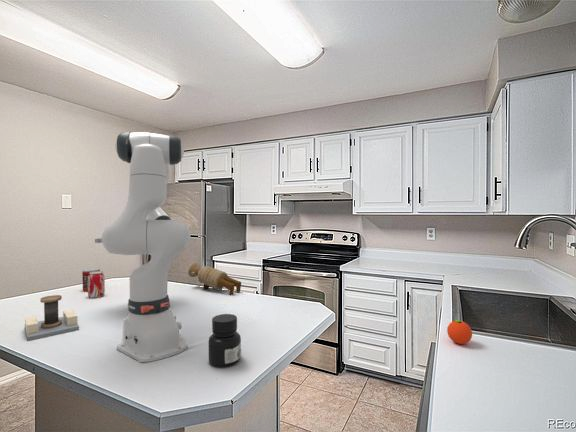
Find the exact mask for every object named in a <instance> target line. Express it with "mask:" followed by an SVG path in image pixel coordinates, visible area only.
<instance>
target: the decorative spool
mask: <svg viewBox="0 0 576 432" xmlns="http://www.w3.org/2000/svg"><path fill="white" fill-rule="evenodd" d="M187 274H188V276H189V277H190V278H195V277H197V279H198V282H199V283H200V284H203V290H209V289H210V288H213V289H212V290H218V289H219V290H222V289H224V288H225V289H226V290H228V295H229V296H233V295H234V294H235V293H234V291H235V292H236V293H237V294H238V293H240V292H241V289H242V281H239V280H237V279H234V278H232V277H231V276H229V275H228V274H227V272H225V271H222V270H219V269H217V268H215V267H212V266H209V265H204V266H203V267H201V266H200V265H199V264H198V263H197V262H194V263H192V264H191V265H190V266H189V269H188V273H187ZM208 288H209V289H208ZM235 289H236V290H235ZM219 290H218V291H219Z"/></svg>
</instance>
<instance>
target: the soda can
mask: <svg viewBox="0 0 576 432" xmlns="http://www.w3.org/2000/svg"><path fill="white" fill-rule="evenodd" d="M105 281H106V280H105V274H104V271H102V270H100V271H95V272H90V273H89V276H88V292H87V296H88V298H90V299H97V298H98V297H99V298H102V297H104V296H105V293H106V292H105V290H106V289H105V286H106V285H105ZM99 298H98V299H99Z"/></svg>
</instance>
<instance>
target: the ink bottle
mask: <svg viewBox="0 0 576 432" xmlns="http://www.w3.org/2000/svg"><path fill="white" fill-rule="evenodd" d="M211 323H212V324H211V329H212V331H211V332H212V334H210V336H209V338H208V341H207V343H208V344H207V345H208V364H210V365H211V366H213V367H216V368H229V367H233V366H235V365H236V364H238V363H239V362H240V361H241V358H242V338H241V335H240V333H239V332H238V331H237V330H238V317H237V315H235V314H231V313H224V314H217V315H215V316H213V317H212V318H211Z"/></svg>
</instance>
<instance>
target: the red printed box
mask: <svg viewBox="0 0 576 432" xmlns="http://www.w3.org/2000/svg"><path fill="white" fill-rule="evenodd" d="M100 269H101V268H99V267H92V268H91V267H90V268H86V269H85V268H84V269H82V273H81V274H82V291H83V292H87V293H88V276H89V273H90V272H95V271H101V270H100Z"/></svg>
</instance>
